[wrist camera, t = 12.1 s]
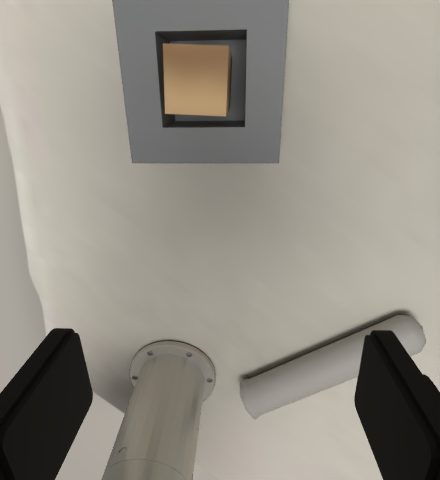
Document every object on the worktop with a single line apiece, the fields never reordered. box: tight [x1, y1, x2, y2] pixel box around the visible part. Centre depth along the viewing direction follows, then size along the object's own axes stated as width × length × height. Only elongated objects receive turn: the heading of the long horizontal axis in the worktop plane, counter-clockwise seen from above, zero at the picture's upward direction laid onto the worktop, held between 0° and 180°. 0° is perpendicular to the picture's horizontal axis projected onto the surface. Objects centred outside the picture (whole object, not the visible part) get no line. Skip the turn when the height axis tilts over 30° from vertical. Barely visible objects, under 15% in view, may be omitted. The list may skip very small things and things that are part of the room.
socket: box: [112, 0, 289, 163], centre depth 30 cm, size 13×13×7 cm
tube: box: [240, 315, 426, 419], centre depth 45 cm, size 5×5×25 cm
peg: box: [163, 43, 232, 116], centre depth 28 cm, size 4×4×10 cm
